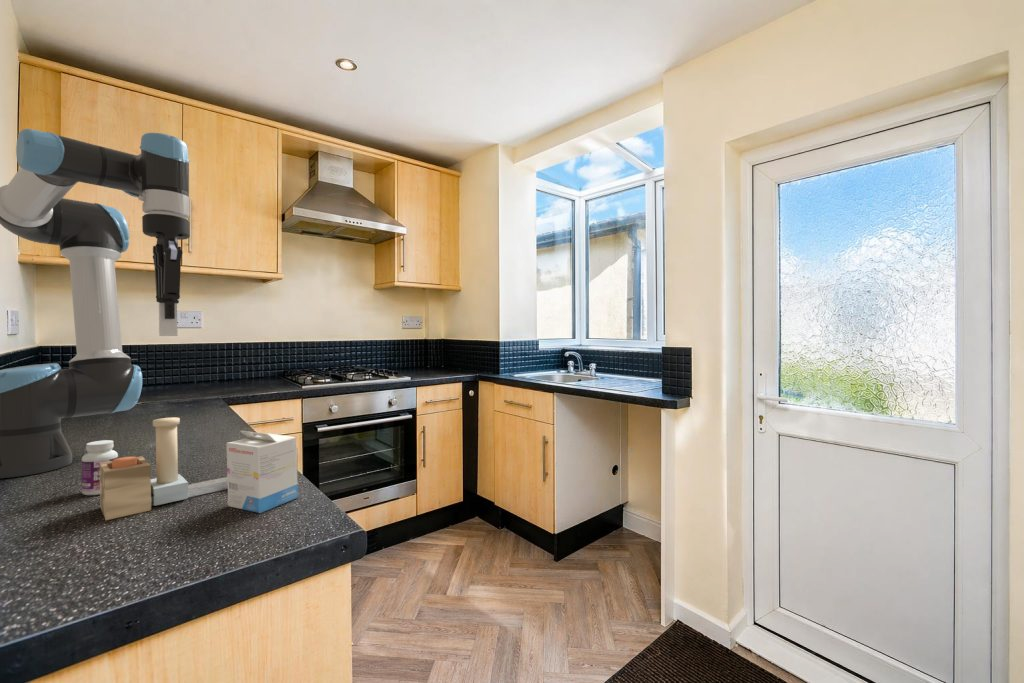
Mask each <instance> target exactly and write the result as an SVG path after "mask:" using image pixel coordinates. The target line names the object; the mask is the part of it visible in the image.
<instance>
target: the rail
mask: <svg viewBox="0 0 1024 683" xmlns="http://www.w3.org/2000/svg"><path fill="white" fill-rule="evenodd" d="M225 490H228V480H227V476H225V477H224V476H223V477H220V478H214V479H209V480H204V481H200V482H193V483H191V484H189V483H188V490H187V494H188V499H189V498H194V497H198V496H201V495H206V494H211V493H215V492H221V491H225ZM152 506H154V505H153V495H152V493H151V507H152Z"/></svg>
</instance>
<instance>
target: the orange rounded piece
mask: <svg viewBox="0 0 1024 683" xmlns="http://www.w3.org/2000/svg"><path fill="white" fill-rule="evenodd" d="M137 457H138V456H123V457H118V459H114V460H112V469H114V468H120V467H126V466H132V465H137Z"/></svg>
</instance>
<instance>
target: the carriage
mask: <svg viewBox="0 0 1024 683" xmlns="http://www.w3.org/2000/svg"><path fill="white" fill-rule="evenodd" d="M180 422H181V419H180V417H175V416H174V417H173V416H172V417H164V418H157V419H156V418H155V419H153V420H152V427H153V428H155V464H156V465H155V468H156V477H155V478H151V493H152V495H153V506H160V505H164V504H168V503H173V502H177V501H182V500H187V499H189V498H188V494H187V490H188V485H189V482H188V481H187V480H186V479H185V478H184V477H183V476H182V475H181V474H180V473H179V465H178V464H179V462H178V460H179V458H178V425H180Z"/></svg>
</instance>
